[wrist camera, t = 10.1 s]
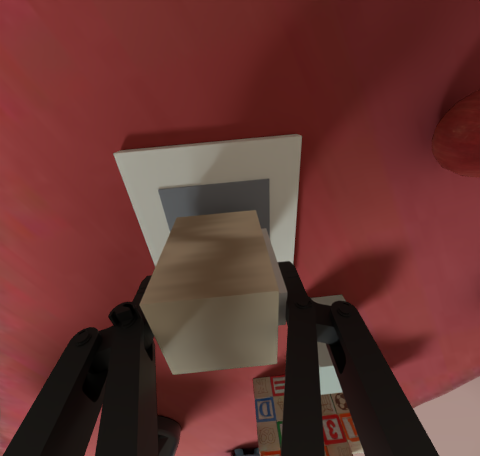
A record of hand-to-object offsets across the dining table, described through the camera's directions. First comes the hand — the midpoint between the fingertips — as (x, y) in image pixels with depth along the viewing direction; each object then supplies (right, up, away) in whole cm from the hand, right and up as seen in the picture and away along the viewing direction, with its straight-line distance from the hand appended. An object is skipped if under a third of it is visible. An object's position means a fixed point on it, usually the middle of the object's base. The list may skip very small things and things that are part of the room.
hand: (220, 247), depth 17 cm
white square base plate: (0, +2, +3) cm, 4 cm away
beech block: (0, 0, 0) cm, 0 cm away
